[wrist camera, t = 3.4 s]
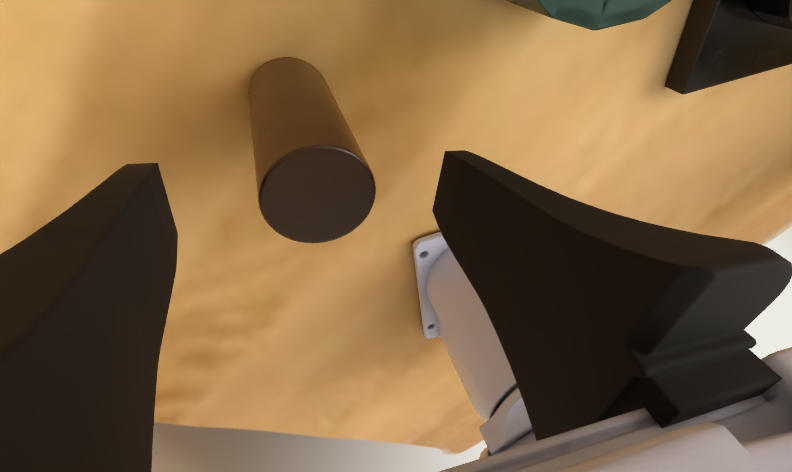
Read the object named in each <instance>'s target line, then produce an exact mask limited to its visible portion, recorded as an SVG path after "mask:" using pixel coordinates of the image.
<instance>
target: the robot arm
mask: <svg viewBox="0 0 792 472" xmlns="http://www.w3.org/2000/svg"><path fill="white" fill-rule="evenodd" d="M432 211H433V213H434V216H435V219H436V221H437V224H438V226H439V229H440V231H441V232H438V233H435V234H431V235H428V236H425V237H422V238H419V239H417V240H416V241H415V242H414V243H413V254H414V262H415V270H416V278H417V286H418V293H419V301H420V309H421V317H422V325H423V333H424V335H425V338H427V339H432V338H435V337H438V336H440V337H441V339H442V341H443V343H444V345H445V347H446V350H447V352H448V354H449V356H450V358H451V360H452V362H453V364H454V366H455V368H456V371H457V373H458V375H459V377H460V379H461V381H462V383H463V385H464V387H465V389H466V392H467V394H468V396H469V398H470V400H471V402H472V404H473V406H474V408H475V409H476V411H477V412H478V414H479V415H480V416H481V417H482V418H483V419H484V420H485V421H486V423H484V424H483V425H481V426H480V428H479V429H480V432H481V434H482V436H483V438H484V440H485V442H486V444H487V448H485V449H484V450H483V451H482V452H481V455H480V458H479V459H478V460H475V461H472V462H469V463H465V464H462V465H459V466H456V467H453V468H450V469H446V470H443V471H440V472H792V347H791V348H788V349H784V350H781V351H777V352H775V353H772V354H770V355H768V356H766V357H765V358H763V359H759V358H758V357H757V356H756V355H755V354H753V352H751V351H750V350H749V348H752V347H753V346H755V345H756V340H755V339H754V338H753V337H752V336H750V335H749V334H748V333H747V332H746V331H744V329H745V327H747V326H748V325H749V324H750V323H751V322H752V321H753V320H754V319H755V318H756V317H757V316H758V315H759V314H760V313H761V312H762V311H763V310H765V309H766V308H767V307H768V306H769V305H770V304H771V303H772V302H773V301H774V300H775V299H776V298H777V297H778V296H779V295H780V293H781V292H782V291H783V290H784V289H785V287H786V286H787V284H788V283H789V282H790V279H791V277H792V264H791V262H789V261H787V260H786V259H785V258H783V257H781V256H780V255H779V254H777V253H776V252H774V251H773V250H771V249H769V248H768V247H765V246H763V245H760V244H757V243H754V242H748V241H741V240H735V239H728V238H722V237H715V236H709V235H702V234H696V233H691V232H686V231H682V230H677V229H672V228H667V227H663V226H659V225H654V224H650V223H646V222H642V221H639V220H635V219H631V218H628V217H624V216H621V215H617V214H614V213H611V212H607V211H604V210H601V209H598V208H596V207H593V206H590V205H587V204H584V203H582V202H579V201H576V200H573V199H571V198H568V197H566V196H563V195H561V194H559V193H557V192H554V191H552V190H550V189H547V188H545V187H543V186H541V185H538V184H536V183H534V182H532V181H530V180H528V179H526V178H524V177H522V176H520V175H518V174H516V173H514V172H512V171H510V170H508V169H505V168H503V167H501V166H499V165H497V164H495V163H493V162H491V161H489V160H487V159H485V158H483V157H480V156H478V155H476V154H473V153H471V152H468V151H445V154H444V159H443V163H442V168H441V173H440V177H439V182H438V187H437V191H436V196H435V201H434V205H433V210H432ZM177 239H178V233H177V230H176V226H175V222H174V219H173V215H172V212H171V208H170V205H169V201H168V198H167V194H166V191H165V187H164V184H163V180H162V177H161V173H160V170H159V166H158V163H145V164H126V165H125V166H123V167H122V168H120V169H119V170H118V171H116V172H115V173H114V174H112V175H111V176H110V177H108V178H107V179H106V180H105V181H103V182H102V183H101V184H100V185H98V186H97V187H96V188H95V189H93V190H92V191H91V192H90V193H88V194H87V195H86V196H84V197H83V198H82V199H81V200H79V201H78V202H77V203H75V204H74V205H73V206H72V207H70V208H69V209H68V210H66V211H65V212H63V213H62V214H61V215H59V216H58V217H56V218H55V219H53V220H52V221H50V222H49V223H48V224H46V225H45V226H43V227H42V228H40V229H39V230H38V231H36V232H35V233H33V234H32V235H30V236H29V237H28V238H26V239H24V240H23V241H21V242H20V243H18V244H17V245H15V246H13V247H12V248H10V249H9V250H7V251H5V252H4V253H2V254H0V472H151V463H152V442H153V425H154V408H155V394H156V381H157V368H158V361H159V354H160V348H161V343H162V338H163V333H164V328H165V323H166V318H167V313H168V308H169V303H170V299H171V294H172V288H173V283H174V278H175V273H176V264H177ZM423 251H425V252H424V253H422V252H423ZM421 253H422V254H421Z"/></svg>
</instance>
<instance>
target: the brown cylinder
mask: <svg viewBox="0 0 792 472" xmlns="http://www.w3.org/2000/svg"><path fill="white" fill-rule="evenodd" d="M248 96H249V108H250V119H251V129H252V140H253V150H254V161H255V171H256V182H257V192H258V202H259V207H260V210H261V213H262V215H263V217H264V219H265V220H266V222H267V223H268V224H269V225H270V226H271V227H272V228H273V229H274V230H275V231H276V232H278V233H279V234H281V235H282V236H284V237H286V238H289V239H291V240H294V241H298V242H304V243H321V242H327V241H331V240H335V239H338V238H340V237H342V236H344V235H346V234H348V233H350V232H351V231H353V230H354V229H355V228H357V227H358V226H359V225H360V224H361V223H362V222H363V221H364V220H365V218H366V217H367V215H368V214H369V212H370V210H371V208H372V206H373V203H374V199H375V194H376V186H375V180H374V176H373V173H372V171H371V169H370V167H369V165H368V163H367V161H366V159H365V157H364V155H363V153H362V152H361V150H360V148H359V146H358V144H357V142H356V140H355V138H354V136H353V134H352V132H351V130H350V128H349V126H348V124H347V122H346V120H345V118H344V116H343V114H342V113H341V111H340V109H339V107H338V105H337V103H336V101H335V99H334V97H333V95H332V93H331V91H330V89H329V87H328V85H327V83H326V81H325V79H324V78H323V76H322V75H321V74H320V72H319V71H318V70H317V69H316V68H315V67H313V66H312V65H311V64H309V63H307V62H305V61H303V60H300V59H296V58H290V57H283V58H277V59H274V60H271V61H269V62H267V63H266V64H264V65H263V66H261V67H260V68H259V69H258V70H257V72H256V73H255V74H254V76H253V77H252V80H251V82H250V86H249V92H248Z"/></svg>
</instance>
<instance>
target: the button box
mask: <svg viewBox="0 0 792 472" xmlns="http://www.w3.org/2000/svg"><path fill="white" fill-rule="evenodd" d="M789 64H792V0H694V3H693V6H692V9H691V12H690V14H689V17H688V20H687V23H686V26H685V29H684V32H683V35H682V38H681V41H680V43H679V46H678V49H677V52H676V55H675V58H674V61H673V64H672V67H671V70H670V72H669V75H668V78H667V81H666V84H665V87H667V88H669V89H672V90H674V91H676V92H678V93H681V94H687V93H690V92H694V91H698V90H701V89H705V88H708V87H712V86H715V85H719V84H722V83H726V82H729V81H733V80H736V79H740V78H743V77H747V76H750V75H754V74H758V73H761V72H765V71H768V70H772V69H775V68H779V67H782V66H786V65H789Z"/></svg>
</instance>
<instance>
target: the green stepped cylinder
mask: <svg viewBox="0 0 792 472" xmlns="http://www.w3.org/2000/svg"><path fill="white" fill-rule="evenodd" d="M507 1H509V2H512V3H515V4H517V5H520V6H522V7H525V8H527V9H530V10H533V11H535V12H538V13H540V14H543V15H546V16H548V17H551V18H553V19H557V20H560V21H564V22H567V23H570V24H574V25H577V26H581V27H584V28H587V29H591V30H600V29H604V28H608V27H612V26H616V25H620V24H624V23H628V22H632V21H637V20H641V19H644V18H646V17H648V16H649V15H651V14H652V13H654V12H655V11H657V10H658V9H660V8H661V7H663V6H664V5H665V4H667V3H668V2H670V1H671V0H507Z"/></svg>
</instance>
